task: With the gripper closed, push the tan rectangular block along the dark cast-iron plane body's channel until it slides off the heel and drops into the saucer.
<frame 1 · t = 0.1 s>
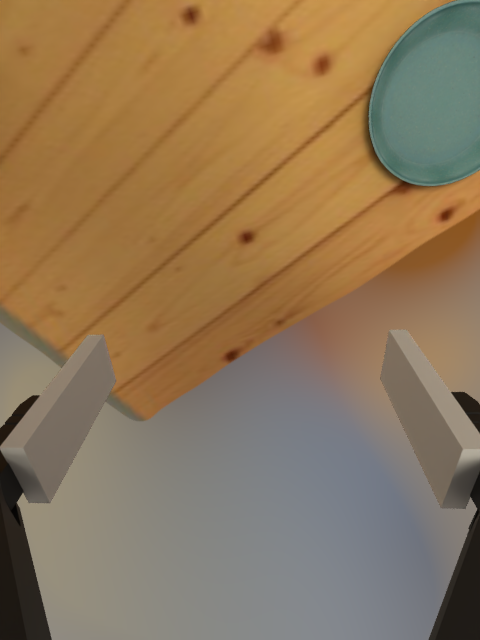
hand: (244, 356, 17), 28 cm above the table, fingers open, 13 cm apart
saucer: (437, 103, 35), on the table
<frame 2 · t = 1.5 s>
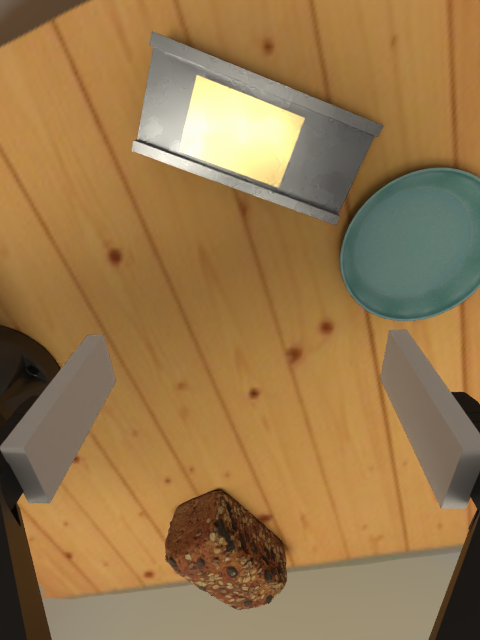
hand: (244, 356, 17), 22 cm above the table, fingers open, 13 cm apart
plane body: (254, 136, 31), on the table
tan rectangular block: (242, 133, 29), point 3 cm above the table, touching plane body
bread: (231, 522, 60), on the table
saucer: (409, 243, 36), on the table
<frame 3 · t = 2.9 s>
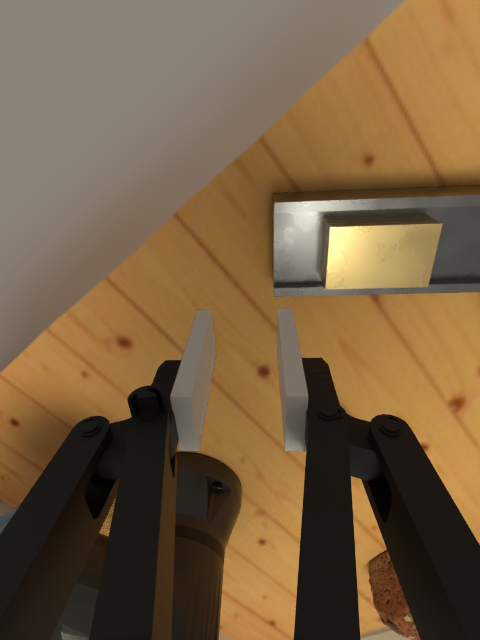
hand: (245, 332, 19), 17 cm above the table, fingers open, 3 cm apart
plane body: (372, 235, 32), on the table
tan rectangular block: (370, 246, 30), point 3 cm above the table, touching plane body
bread: (426, 565, 59), on the table
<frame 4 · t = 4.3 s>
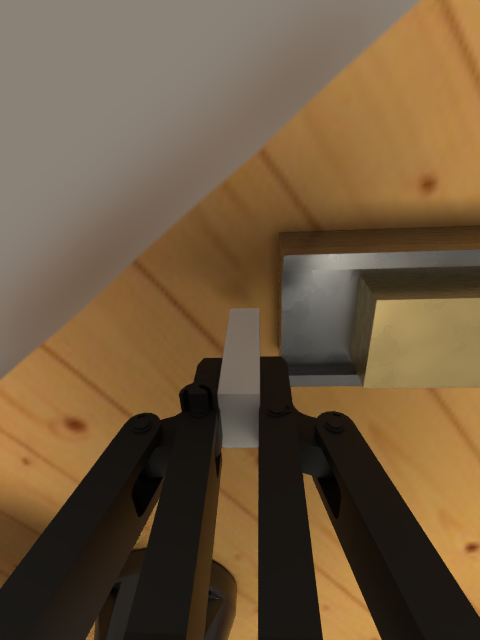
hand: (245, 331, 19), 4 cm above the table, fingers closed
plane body: (425, 292, 22), on the table
tan rectangular block: (429, 315, 19), point 3 cm above the table, touching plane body
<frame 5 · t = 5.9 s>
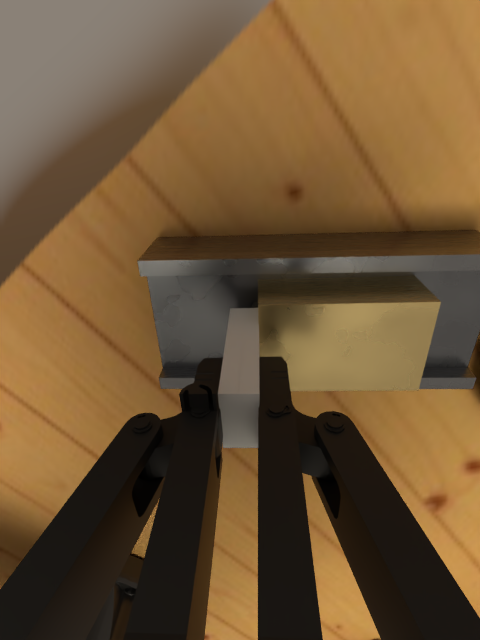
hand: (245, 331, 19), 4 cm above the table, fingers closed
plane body: (308, 297, 22), on the table
tan rectangular block: (331, 319, 20), point 3 cm above the table, touching gripper, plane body
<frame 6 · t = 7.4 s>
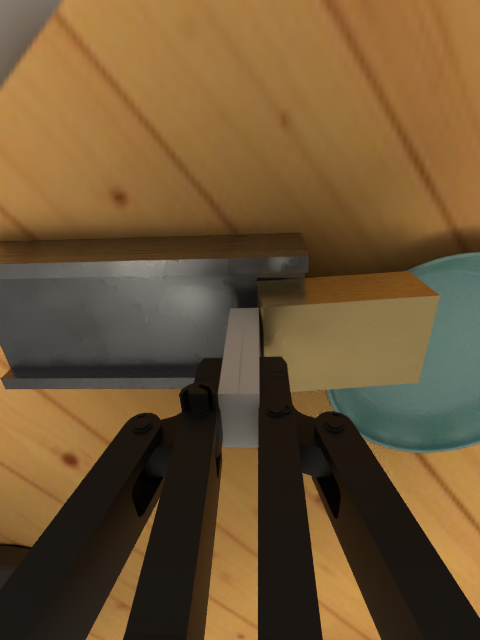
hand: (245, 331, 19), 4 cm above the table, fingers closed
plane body: (156, 299, 23), on the table
tan rectangular block: (329, 318, 20), point 3 cm above the table, tilted 6°, touching gripper, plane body
saucer: (428, 344, 24), on the table
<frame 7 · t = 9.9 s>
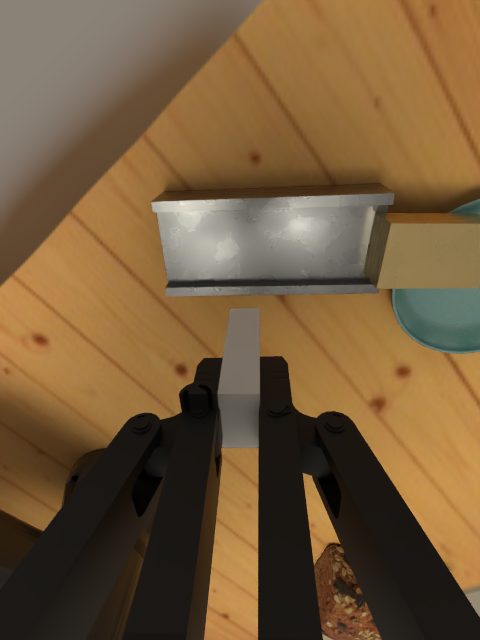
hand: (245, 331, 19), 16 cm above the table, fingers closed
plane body: (269, 234, 32), on the table
tan rectangular block: (418, 244, 29), point 3 cm above the table, tilted 6°, touching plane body, saucer
bread: (372, 563, 59), on the table
saucer: (466, 270, 33), on the table, touching tan rectangular block
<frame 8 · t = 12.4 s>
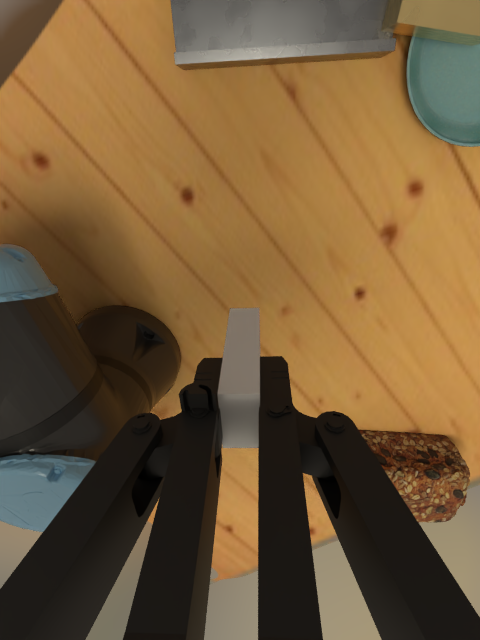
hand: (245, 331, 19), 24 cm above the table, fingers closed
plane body: (280, 7, 31), on the table
bread: (381, 450, 58), on the table
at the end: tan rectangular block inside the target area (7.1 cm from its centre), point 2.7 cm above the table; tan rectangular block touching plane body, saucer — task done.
